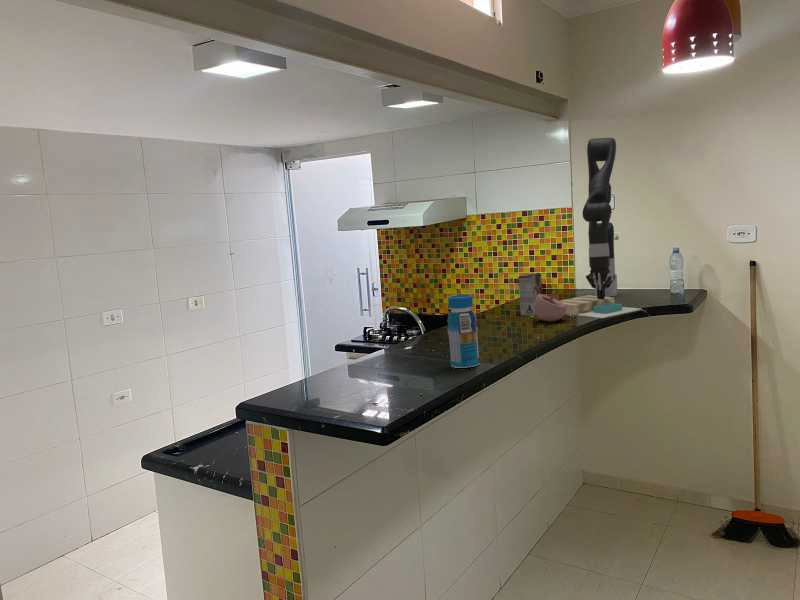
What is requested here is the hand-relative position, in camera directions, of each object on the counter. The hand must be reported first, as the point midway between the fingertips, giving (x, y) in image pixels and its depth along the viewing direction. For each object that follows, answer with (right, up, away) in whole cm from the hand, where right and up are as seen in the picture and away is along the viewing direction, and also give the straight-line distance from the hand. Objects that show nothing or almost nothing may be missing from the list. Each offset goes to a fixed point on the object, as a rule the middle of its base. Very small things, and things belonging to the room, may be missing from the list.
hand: (601, 299), depth 239 cm
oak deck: (-5, -4, +9) cm, 11 cm away
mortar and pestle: (-22, -9, -10) cm, 26 cm away
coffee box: (-25, -6, +10) cm, 28 cm away
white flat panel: (+2, -5, -3) cm, 6 cm away
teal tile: (+2, -4, -2) cm, 5 cm away
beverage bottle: (-60, -19, -66) cm, 92 cm away
